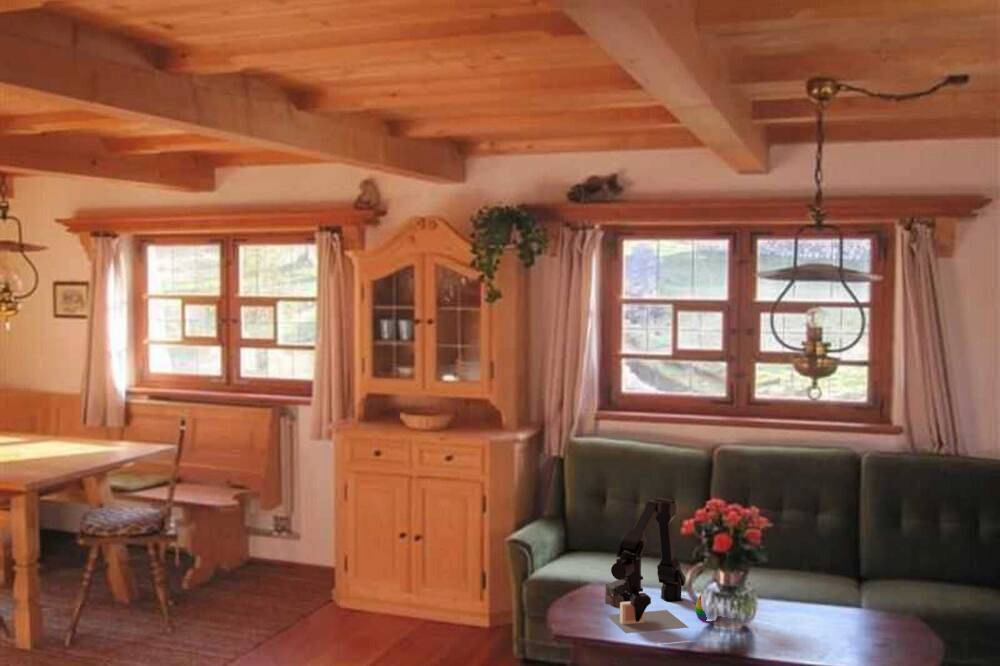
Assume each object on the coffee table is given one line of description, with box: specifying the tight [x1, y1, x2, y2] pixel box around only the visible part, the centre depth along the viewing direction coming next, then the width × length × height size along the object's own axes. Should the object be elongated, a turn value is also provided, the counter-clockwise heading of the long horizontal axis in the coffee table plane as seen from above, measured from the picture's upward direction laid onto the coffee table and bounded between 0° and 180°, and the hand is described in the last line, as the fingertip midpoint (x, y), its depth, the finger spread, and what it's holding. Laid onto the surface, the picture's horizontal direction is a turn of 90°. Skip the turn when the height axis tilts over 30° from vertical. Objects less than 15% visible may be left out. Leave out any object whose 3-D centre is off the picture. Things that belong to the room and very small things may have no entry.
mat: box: [606, 609, 689, 634], centre depth 335 cm, size 23×18×1 cm
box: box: [604, 582, 623, 608], centre depth 353 cm, size 6×6×7 cm
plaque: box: [619, 601, 644, 625], centre depth 333 cm, size 8×3×7 cm, turn 104°
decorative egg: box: [695, 594, 707, 622], centre depth 337 cm, size 8×8×10 cm
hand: (632, 617), depth 333 cm, fingers open, 9 cm apart
